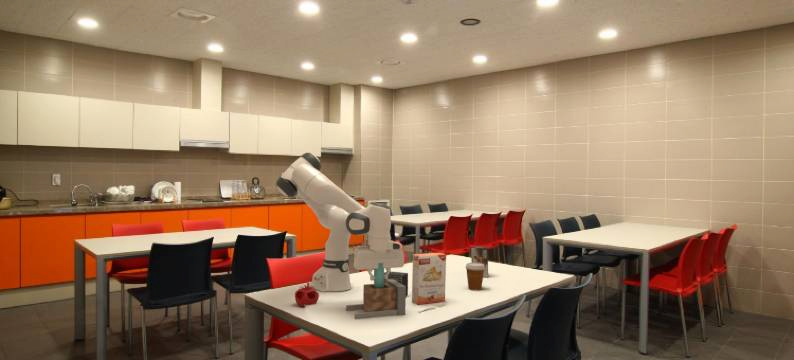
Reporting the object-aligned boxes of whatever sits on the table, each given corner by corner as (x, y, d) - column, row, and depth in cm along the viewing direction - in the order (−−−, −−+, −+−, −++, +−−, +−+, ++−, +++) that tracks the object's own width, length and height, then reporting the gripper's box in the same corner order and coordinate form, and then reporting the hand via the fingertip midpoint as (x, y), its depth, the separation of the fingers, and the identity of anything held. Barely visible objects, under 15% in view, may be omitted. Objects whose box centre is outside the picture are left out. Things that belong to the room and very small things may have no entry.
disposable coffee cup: (462, 289, 235) (463, 265, 235) (467, 285, 244) (468, 262, 244) (482, 291, 231) (482, 266, 231) (486, 287, 240) (486, 263, 240)
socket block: (371, 316, 185) (371, 290, 185) (363, 309, 195) (363, 284, 194) (395, 313, 189) (395, 288, 189) (386, 307, 198) (387, 282, 198)
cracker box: (418, 305, 206) (418, 256, 206) (411, 301, 211) (411, 253, 211) (446, 301, 213) (446, 253, 212) (438, 298, 218) (439, 251, 218)
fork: (402, 316, 191) (402, 311, 191) (442, 305, 208) (442, 301, 208) (408, 318, 189) (408, 313, 189) (447, 306, 206) (448, 302, 206)
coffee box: (487, 275, 270) (488, 246, 270) (488, 277, 264) (488, 248, 263) (471, 274, 271) (471, 246, 271) (471, 277, 265) (471, 247, 265)
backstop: (342, 323, 179) (342, 291, 179) (333, 313, 192) (333, 283, 192) (405, 317, 188) (405, 286, 188) (392, 308, 201) (392, 279, 201)
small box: (408, 295, 223) (408, 272, 223) (402, 298, 217) (403, 275, 217) (387, 292, 228) (388, 270, 228) (381, 295, 222) (381, 272, 222)
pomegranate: (297, 302, 210) (297, 280, 210) (320, 302, 210) (320, 280, 210) (292, 307, 200) (292, 285, 200) (316, 308, 200) (316, 285, 200)
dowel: (371, 295, 191) (372, 262, 191) (378, 293, 194) (378, 261, 194) (379, 297, 189) (379, 263, 189) (385, 295, 192) (386, 262, 192)
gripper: (356, 246, 185) (355, 283, 185) (406, 244, 192) (405, 279, 192) (351, 244, 191) (351, 279, 191) (400, 242, 198) (399, 276, 198)
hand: (378, 279), depth 191 cm, fingers closed on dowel, 4 cm apart
